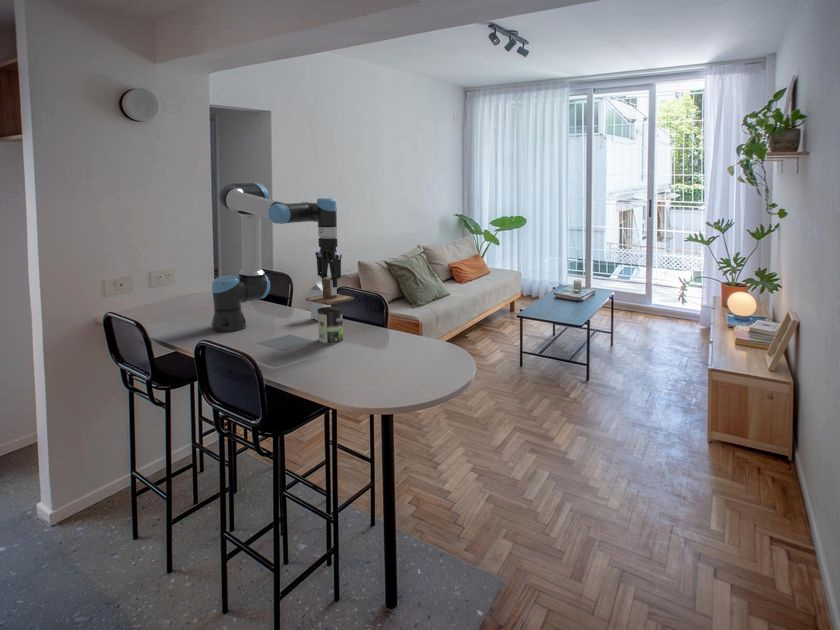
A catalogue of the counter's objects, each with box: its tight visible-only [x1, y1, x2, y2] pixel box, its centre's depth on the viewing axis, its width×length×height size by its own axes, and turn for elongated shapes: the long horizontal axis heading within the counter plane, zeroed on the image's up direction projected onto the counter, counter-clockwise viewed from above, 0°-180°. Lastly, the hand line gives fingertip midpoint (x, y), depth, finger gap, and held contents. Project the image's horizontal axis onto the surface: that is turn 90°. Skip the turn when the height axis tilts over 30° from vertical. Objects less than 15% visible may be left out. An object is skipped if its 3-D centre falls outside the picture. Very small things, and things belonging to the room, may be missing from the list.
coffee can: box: [317, 306, 344, 345], centre depth 229 cm, size 10×10×14 cm
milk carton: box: [309, 279, 332, 321], centre depth 265 cm, size 7×7×19 cm
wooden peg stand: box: [305, 277, 355, 306], centre depth 225 cm, size 14×14×9 cm
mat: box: [257, 334, 316, 352], centre depth 227 cm, size 17×17×1 cm
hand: (329, 294), depth 226 cm, fingers closed on wooden peg stand, 4 cm apart
